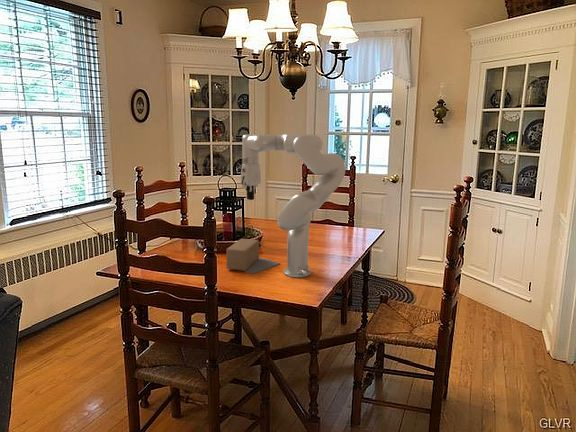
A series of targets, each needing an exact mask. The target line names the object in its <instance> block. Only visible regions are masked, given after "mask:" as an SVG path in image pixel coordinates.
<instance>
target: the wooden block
mask: <svg viewBox="0 0 576 432" xmlns="http://www.w3.org/2000/svg"><path fill="white" fill-rule="evenodd" d="M225 254H226V256H225V257H226V269H227V270H234V271H235V270H237V271H241V270H244V271H245V270H247V269H248V268H249V267H250V266H251V265H252V264H253V263H254V262H255V261H257V260H258V259H259V258H260V241H259V239H251V238H250V239H249V238H240V239H238V240H237V241H236V242H235V243H233V244H232V245H230V246H229V247H227V248H226V253H225ZM244 271H243V272H244Z"/></svg>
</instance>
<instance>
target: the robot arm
mask: <svg viewBox="0 0 576 432" xmlns="http://www.w3.org/2000/svg"><path fill="white" fill-rule="evenodd" d="M241 142H242V143H241V145H242V148H241V149H242V150H241V151H242V152H241V155H242V159H241V160H242V164H241V170H240V184H241V185H242V186H241V187H242V189H245V191H246V200H249V201H253V200H255V191H256V188H257V187H259V185H261V183H262V175H261V167H260V166H261V165H260V164H259V153H260V152H261V153H262V152H270V151H279V152H281V151H282V152H285V153H286V154H291V155H293V154H296V156H297V157H298V158H299V159H300V160H301V161H302V163H304V165H305V166H306V167H307V168H308V169H309V171H311V173H313V174H314V175H316V176H320V177H319V178H318V179H317V180H316V181H315V183H314V184H313V185H311V187H310V188H309V189H307V190H305V191H301V192H298V193H296V194H295V195H293V196H292V197H291V198H290V200H289V201H287V203H286V204H285V205H284V206H283V208H282V209H281V210H280V211H279V212H278V215H277V225H278V227H279V228H280V229H281V230H283V231H285V232H287V231H288V232H287V249H286V251H287V254H286V255H287V256H286V257H287V267H286V268H284V270H283V274H284V275H286V277H287V276H288V277H290V278H296V279H297V278H298V279H299V278H307V277H309V276H310V275H312V270H311V269H310V268H309V239H310V238H309V237H310V236H309V235H310V226H311V220H312V214H311V213H313V212H316V211H318V210H319V209H320V208H321V207H322V205H324V203H325V202H326V201H327V200H328V199H329V198H330V196H331V195H332V194H333V193H335V191H336V190H337V189H338V188H339V187H340V185H341V183H342V182H343V181H344V178H345V175H346V164H345V160H344V158H343V157H342V156H341V155H340V154H337V153H331V152H329V153H323V154H322V153H321V152H320V151H321V150H322V149H323V145H324V144H323V140H322V138H321V137H320V136H318V135H317V134H312V133H311V134H310V133H309V134H308V133H305V134H304V133H302V134H301V133H299V134H298V133H287V134H277V133H276V134H275V133H274V134H272V133H271V134H270V133H269V134H253V133H252V134H250V133H246V134H244V135H242V139H241Z"/></svg>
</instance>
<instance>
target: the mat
mask: <svg viewBox="0 0 576 432" xmlns="http://www.w3.org/2000/svg"><path fill="white" fill-rule="evenodd" d="M280 264H281V263H280V262H278V261H274V260H271V259H266V258H263V257H259V259H258V260H257V261H255V262H254V263H253V264H252V265H251V266H250V267H249V268H248V269H247V270H245V271H244V270H240V271H242V272H245V273H248V274H250V275H256V274H258V273H260V272H263V271H266V270H268V269H272V268H274V267H277V266H279V265H280Z"/></svg>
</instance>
